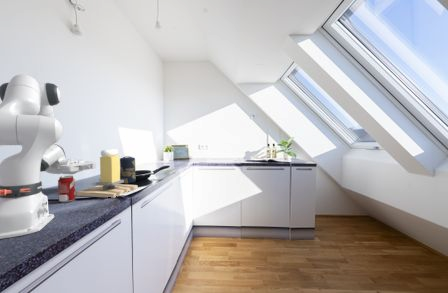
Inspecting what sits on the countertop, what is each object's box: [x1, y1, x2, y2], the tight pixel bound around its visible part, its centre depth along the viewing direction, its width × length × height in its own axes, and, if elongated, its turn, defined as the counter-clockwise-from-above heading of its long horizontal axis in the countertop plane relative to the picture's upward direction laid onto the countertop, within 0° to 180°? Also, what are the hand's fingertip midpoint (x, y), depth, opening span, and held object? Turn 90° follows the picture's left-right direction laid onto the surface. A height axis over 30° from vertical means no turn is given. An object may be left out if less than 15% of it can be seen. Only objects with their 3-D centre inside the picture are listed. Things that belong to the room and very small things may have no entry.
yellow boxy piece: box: [95, 148, 124, 186], centre depth 132 cm, size 10×10×19 cm
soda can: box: [57, 175, 76, 204], centre depth 113 cm, size 7×7×12 cm
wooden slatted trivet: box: [75, 183, 139, 199], centre depth 132 cm, size 22×22×4 cm
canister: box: [120, 155, 137, 184], centre depth 157 cm, size 10×10×18 cm
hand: (91, 167), depth 134 cm, fingers closed
